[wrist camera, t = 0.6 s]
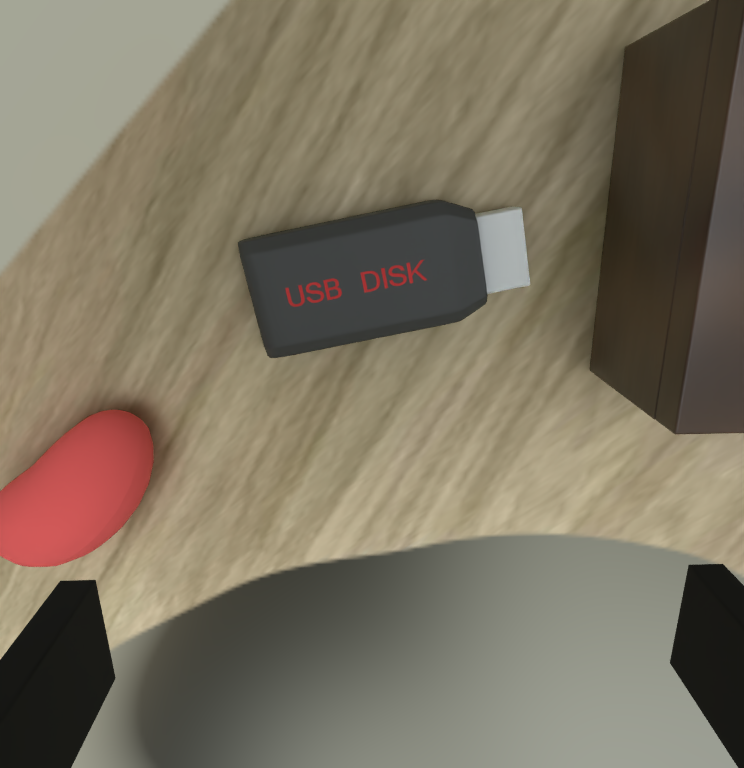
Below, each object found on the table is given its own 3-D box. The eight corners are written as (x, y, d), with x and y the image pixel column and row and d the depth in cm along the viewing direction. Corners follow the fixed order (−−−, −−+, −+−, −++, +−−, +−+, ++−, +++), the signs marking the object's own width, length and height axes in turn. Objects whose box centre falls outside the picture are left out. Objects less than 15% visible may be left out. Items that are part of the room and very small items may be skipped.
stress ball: (198, 487, 31) (178, 485, 25) (41, 591, 29) (-22, 616, 23) (147, 408, 32) (114, 387, 25) (-12, 505, 30) (-89, 507, 23)
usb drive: (242, 239, 26) (229, 244, 23) (506, 184, 25) (523, 182, 23) (271, 349, 28) (262, 365, 25) (520, 299, 27) (537, 310, 24)
